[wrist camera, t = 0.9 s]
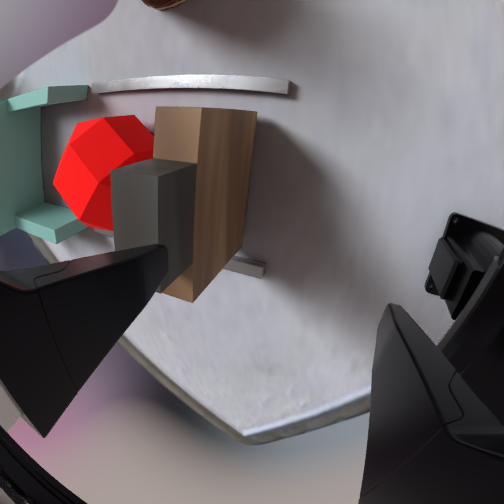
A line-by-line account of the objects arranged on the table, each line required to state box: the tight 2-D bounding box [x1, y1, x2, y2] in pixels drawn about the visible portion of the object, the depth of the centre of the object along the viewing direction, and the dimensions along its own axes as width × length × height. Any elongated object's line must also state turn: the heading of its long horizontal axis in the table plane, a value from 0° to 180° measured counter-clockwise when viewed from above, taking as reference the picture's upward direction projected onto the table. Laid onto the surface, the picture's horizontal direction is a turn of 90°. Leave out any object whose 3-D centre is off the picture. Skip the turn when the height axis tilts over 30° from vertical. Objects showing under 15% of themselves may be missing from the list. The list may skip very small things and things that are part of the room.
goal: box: [0, 85, 88, 244], centre depth 23 cm, size 10×15×8 cm
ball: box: [53, 115, 154, 231], centre depth 21 cm, size 8×8×8 cm
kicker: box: [110, 107, 257, 303], centre depth 16 cm, size 2×10×11 cm, turn 173°
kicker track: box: [91, 75, 291, 279], centre depth 23 cm, size 18×15×1 cm
